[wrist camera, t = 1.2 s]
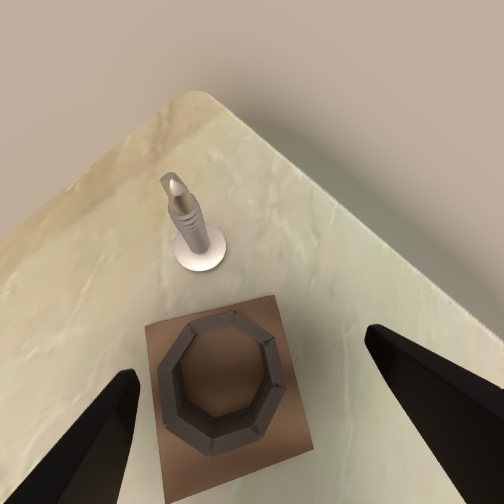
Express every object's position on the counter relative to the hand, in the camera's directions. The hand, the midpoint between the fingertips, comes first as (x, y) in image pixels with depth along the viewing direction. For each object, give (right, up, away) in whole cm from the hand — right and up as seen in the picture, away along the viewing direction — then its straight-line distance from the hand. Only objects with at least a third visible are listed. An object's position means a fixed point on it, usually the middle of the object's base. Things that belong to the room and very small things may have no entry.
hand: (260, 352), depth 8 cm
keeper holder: (-3, -8, +11) cm, 14 cm away
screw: (-5, +4, +14) cm, 16 cm away
